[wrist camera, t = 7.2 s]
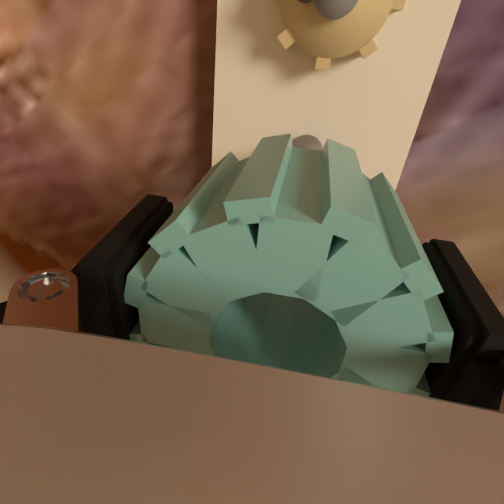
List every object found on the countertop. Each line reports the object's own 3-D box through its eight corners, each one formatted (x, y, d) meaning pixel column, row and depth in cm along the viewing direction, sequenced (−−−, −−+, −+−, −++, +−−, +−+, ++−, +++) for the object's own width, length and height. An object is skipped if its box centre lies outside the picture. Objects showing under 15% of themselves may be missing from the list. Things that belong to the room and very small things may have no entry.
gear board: (476, -82, 17) (582, -159, 10) (353, 290, 29) (363, 367, 22) (230, -103, 18) (176, -186, 11) (213, 266, 30) (183, 332, 23)
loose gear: (439, 152, 10) (523, 234, 6) (370, 337, 14) (390, 464, 10) (187, 120, 11) (102, 172, 7) (190, 304, 15) (138, 409, 11)
